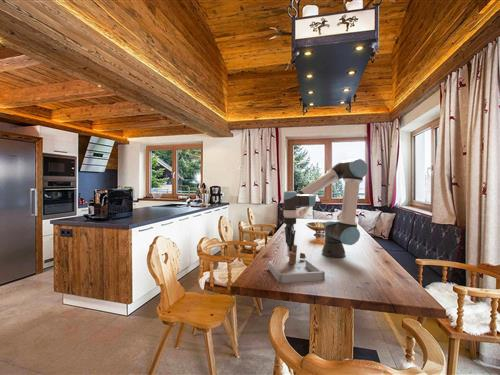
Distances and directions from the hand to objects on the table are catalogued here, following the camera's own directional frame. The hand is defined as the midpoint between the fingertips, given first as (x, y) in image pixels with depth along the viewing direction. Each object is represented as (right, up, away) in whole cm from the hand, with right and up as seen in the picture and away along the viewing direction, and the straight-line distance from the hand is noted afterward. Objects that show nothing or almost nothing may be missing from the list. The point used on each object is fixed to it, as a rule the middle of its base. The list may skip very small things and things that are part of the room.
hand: (289, 256), depth 151 cm
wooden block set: (+4, -6, +5) cm, 8 cm away
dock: (0, -6, -14) cm, 15 cm away
